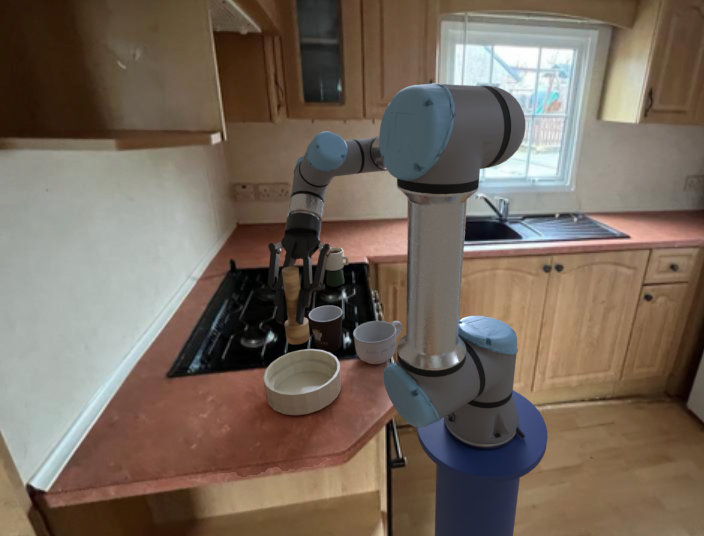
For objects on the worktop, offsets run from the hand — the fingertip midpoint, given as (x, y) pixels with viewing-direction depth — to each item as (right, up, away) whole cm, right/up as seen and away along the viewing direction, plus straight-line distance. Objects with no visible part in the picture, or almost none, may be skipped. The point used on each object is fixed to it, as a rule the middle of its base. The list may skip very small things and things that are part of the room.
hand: (289, 322), depth 82 cm
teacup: (+16, -13, +24) cm, 32 cm away
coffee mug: (+1, -11, +29) cm, 31 cm away
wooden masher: (0, -4, +6) cm, 7 cm away
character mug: (-3, +3, +65) cm, 65 cm away
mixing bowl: (0, -18, +11) cm, 20 cm away
